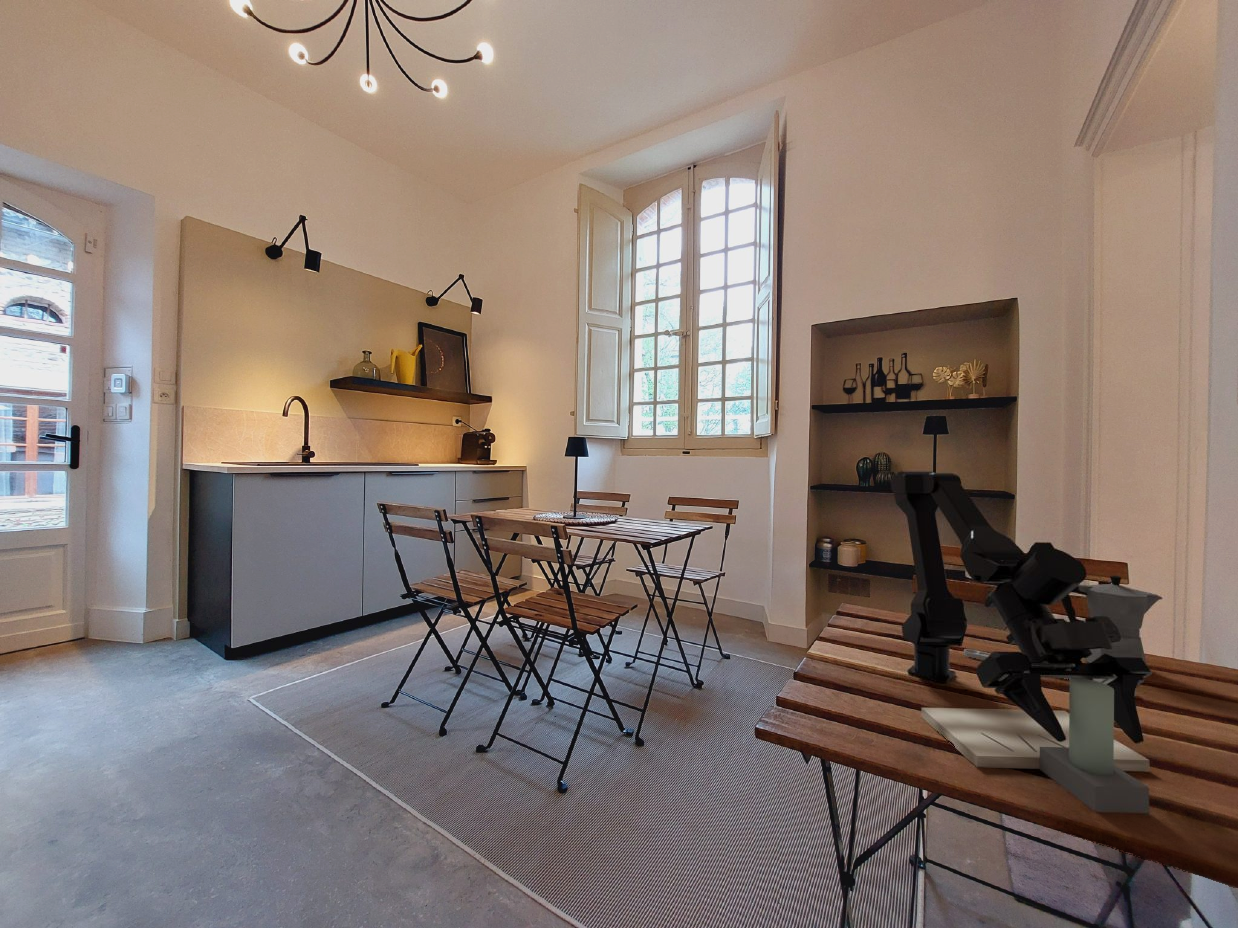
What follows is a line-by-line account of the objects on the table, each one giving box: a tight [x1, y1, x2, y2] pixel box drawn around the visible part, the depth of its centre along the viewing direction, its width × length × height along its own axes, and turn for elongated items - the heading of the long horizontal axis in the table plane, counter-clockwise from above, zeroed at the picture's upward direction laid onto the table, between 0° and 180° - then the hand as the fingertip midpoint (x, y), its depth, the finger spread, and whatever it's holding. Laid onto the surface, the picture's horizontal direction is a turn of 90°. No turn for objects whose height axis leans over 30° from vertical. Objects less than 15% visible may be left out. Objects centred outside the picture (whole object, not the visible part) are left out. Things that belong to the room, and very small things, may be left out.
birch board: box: [920, 707, 1150, 773], centre depth 72 cm, size 13×22×2 cm, turn 88°
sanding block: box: [1039, 678, 1150, 814], centre depth 62 cm, size 6×8×13 cm
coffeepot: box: [1060, 575, 1163, 666], centre depth 100 cm, size 15×9×18 cm, turn 62°
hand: (1101, 741), depth 60 cm, fingers open, 9 cm apart
